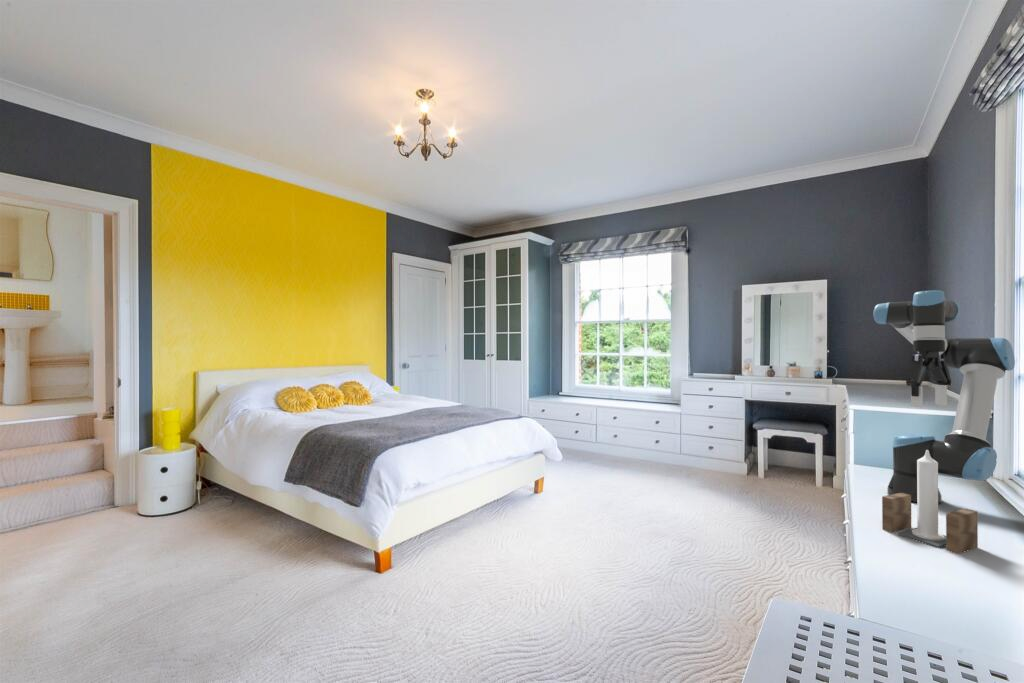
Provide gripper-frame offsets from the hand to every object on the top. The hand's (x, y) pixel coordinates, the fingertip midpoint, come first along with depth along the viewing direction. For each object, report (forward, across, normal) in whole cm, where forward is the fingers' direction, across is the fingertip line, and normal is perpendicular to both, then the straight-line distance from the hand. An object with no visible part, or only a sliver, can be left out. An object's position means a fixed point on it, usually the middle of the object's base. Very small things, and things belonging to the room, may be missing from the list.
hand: (929, 406), depth 148 cm
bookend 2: (+37, +16, +15) cm, 43 cm away
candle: (+36, +16, +7) cm, 40 cm away
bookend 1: (+37, +16, -1) cm, 40 cm away
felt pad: (+37, +16, +7) cm, 41 cm away
